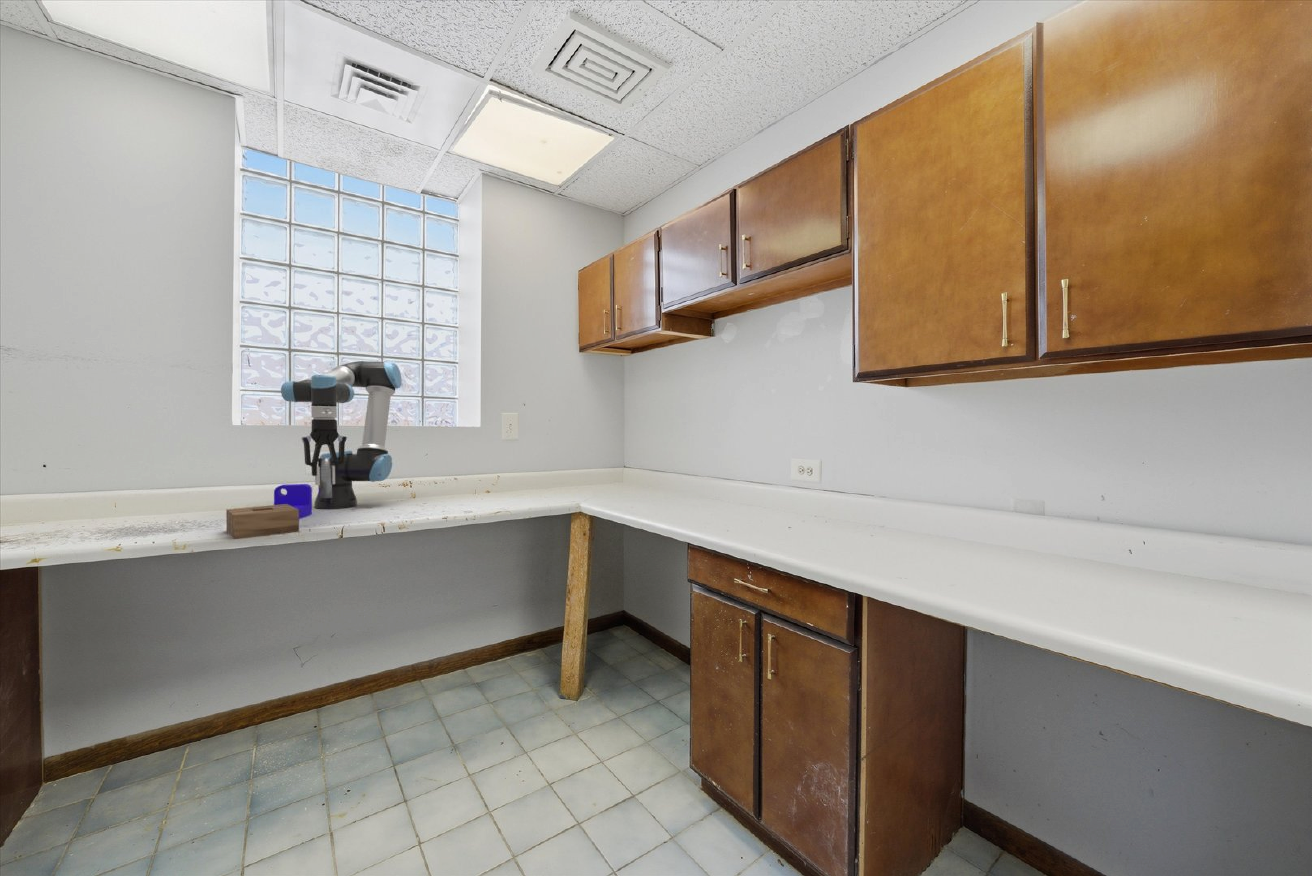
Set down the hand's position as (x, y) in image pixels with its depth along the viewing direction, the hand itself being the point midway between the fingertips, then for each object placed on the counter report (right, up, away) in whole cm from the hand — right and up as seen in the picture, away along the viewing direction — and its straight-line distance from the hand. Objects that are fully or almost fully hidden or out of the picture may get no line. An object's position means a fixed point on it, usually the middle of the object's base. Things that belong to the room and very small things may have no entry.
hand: (325, 484), depth 176 cm
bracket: (-17, -13, +5) cm, 22 cm away
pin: (0, -5, 0) cm, 5 cm away
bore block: (-9, -14, -16) cm, 23 cm away
